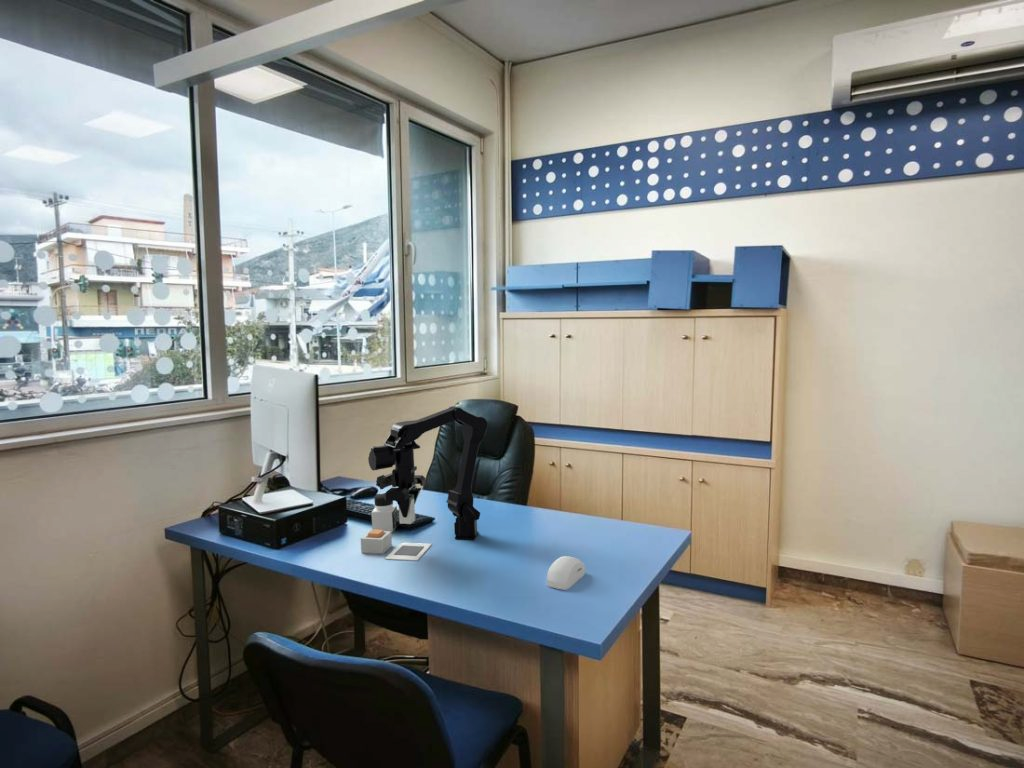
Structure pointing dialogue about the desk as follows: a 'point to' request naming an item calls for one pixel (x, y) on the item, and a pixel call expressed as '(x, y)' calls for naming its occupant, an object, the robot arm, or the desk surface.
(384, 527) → the medicine bottle
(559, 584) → the computer mouse
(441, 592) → the desk surface
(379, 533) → the button
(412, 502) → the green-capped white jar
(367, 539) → the button housing
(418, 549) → the white grey rectangular pad
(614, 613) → the desk surface
